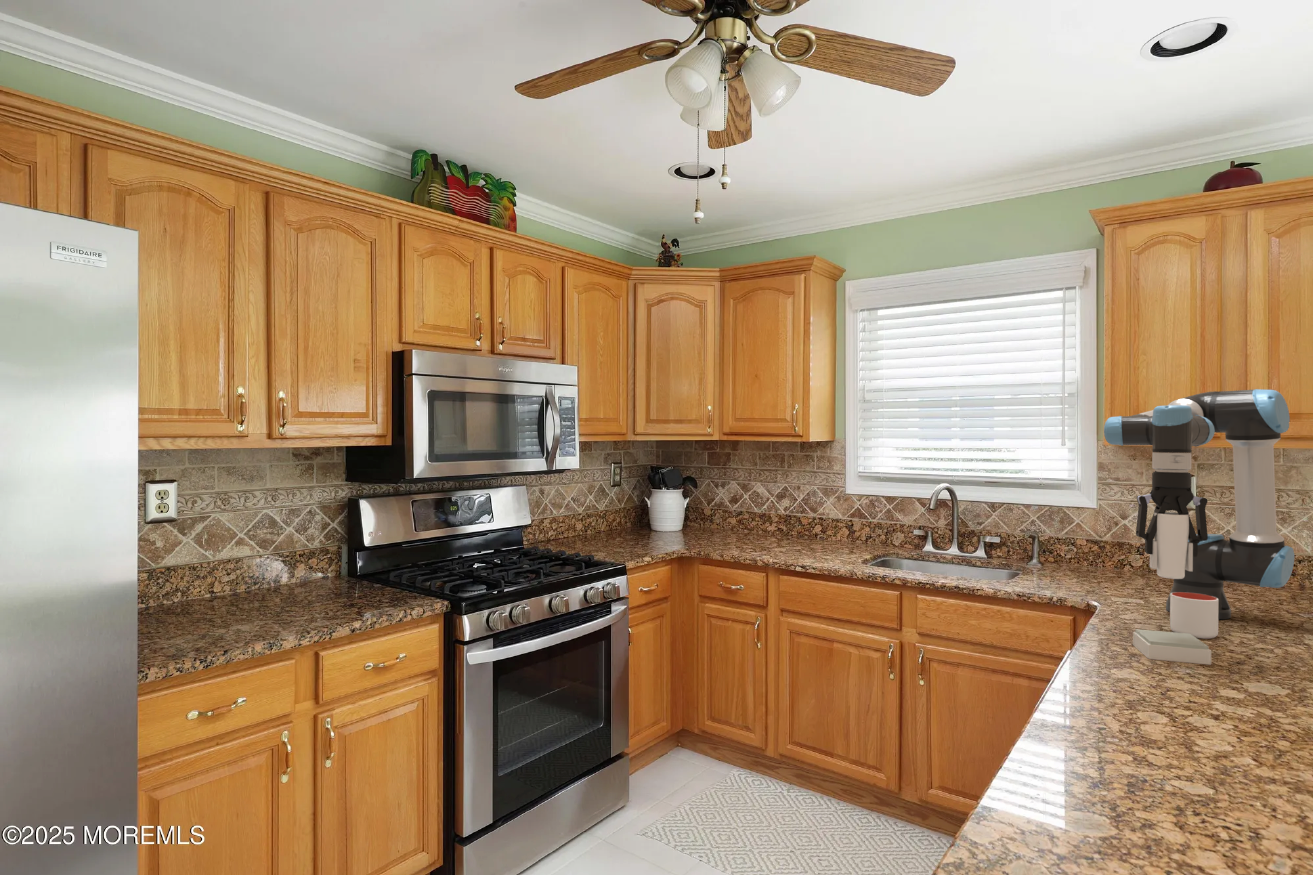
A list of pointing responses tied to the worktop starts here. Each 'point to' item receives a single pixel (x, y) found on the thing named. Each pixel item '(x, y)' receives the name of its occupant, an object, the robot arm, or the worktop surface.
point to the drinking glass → (1171, 544)
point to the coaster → (1171, 646)
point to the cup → (1194, 614)
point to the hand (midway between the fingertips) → (1170, 569)
